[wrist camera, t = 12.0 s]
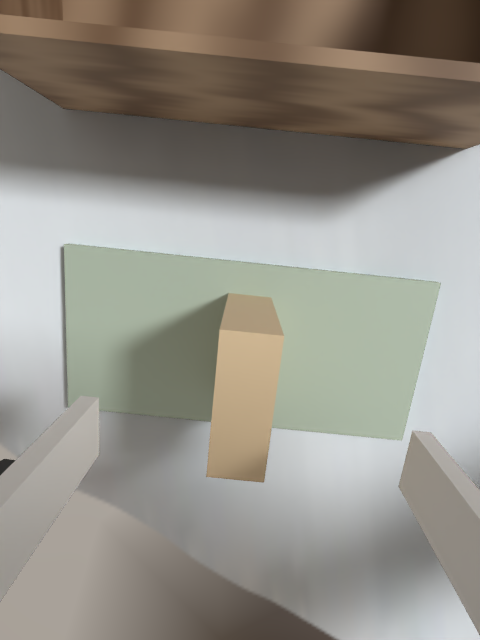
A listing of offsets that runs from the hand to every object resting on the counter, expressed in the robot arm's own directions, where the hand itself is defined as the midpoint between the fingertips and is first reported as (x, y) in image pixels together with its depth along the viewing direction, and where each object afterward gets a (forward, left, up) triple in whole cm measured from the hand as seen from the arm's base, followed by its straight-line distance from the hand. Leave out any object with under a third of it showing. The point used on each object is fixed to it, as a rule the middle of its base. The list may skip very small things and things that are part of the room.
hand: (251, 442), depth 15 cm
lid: (0, 0, -13) cm, 13 cm away
